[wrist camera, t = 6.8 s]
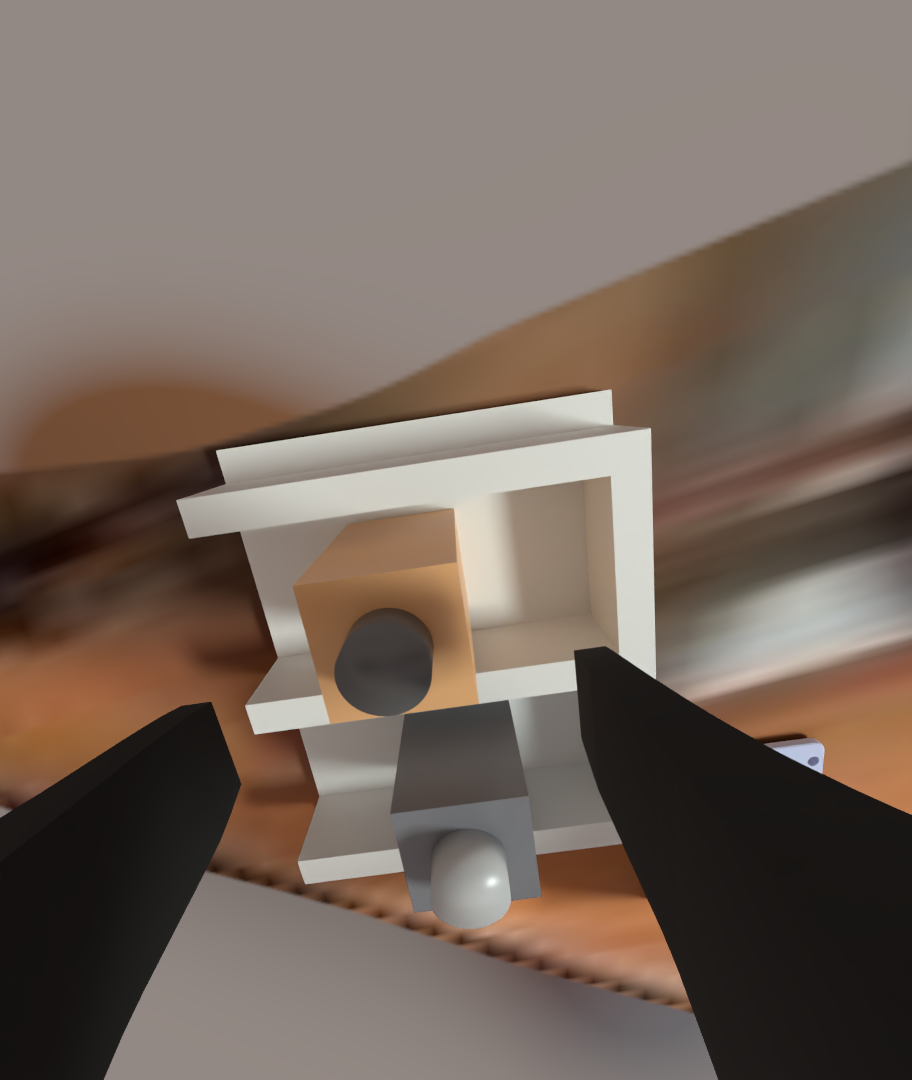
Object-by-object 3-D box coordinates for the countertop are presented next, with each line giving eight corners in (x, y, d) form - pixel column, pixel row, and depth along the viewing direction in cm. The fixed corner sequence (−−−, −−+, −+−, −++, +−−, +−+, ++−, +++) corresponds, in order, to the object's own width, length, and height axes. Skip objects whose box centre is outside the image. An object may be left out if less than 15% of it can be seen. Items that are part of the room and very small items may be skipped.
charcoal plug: (513, 752, 19) (550, 942, 12) (424, 764, 19) (410, 959, 12) (503, 674, 18) (536, 835, 11) (408, 687, 18) (384, 854, 11)
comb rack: (622, 783, 21) (659, 862, 17) (335, 821, 21) (312, 905, 18) (603, 390, 16) (650, 384, 12) (227, 448, 16) (162, 459, 13)
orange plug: (468, 606, 17) (482, 736, 10) (369, 620, 17) (317, 758, 10) (454, 508, 16) (457, 581, 9) (347, 524, 16) (273, 607, 9)
